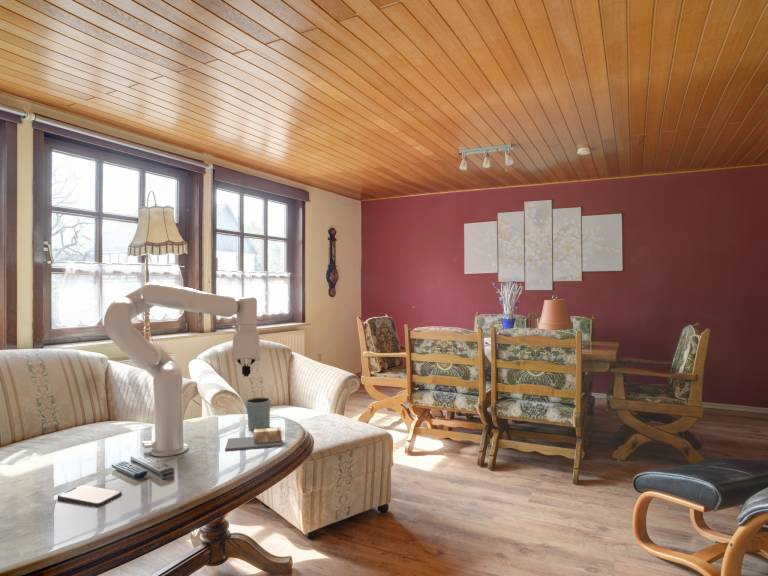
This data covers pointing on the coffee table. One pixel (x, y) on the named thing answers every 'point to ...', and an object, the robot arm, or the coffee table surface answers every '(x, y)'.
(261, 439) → the maple block
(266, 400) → the grey-green cup
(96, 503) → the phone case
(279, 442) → the mat
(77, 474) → the coffee table surface
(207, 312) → the robot arm
